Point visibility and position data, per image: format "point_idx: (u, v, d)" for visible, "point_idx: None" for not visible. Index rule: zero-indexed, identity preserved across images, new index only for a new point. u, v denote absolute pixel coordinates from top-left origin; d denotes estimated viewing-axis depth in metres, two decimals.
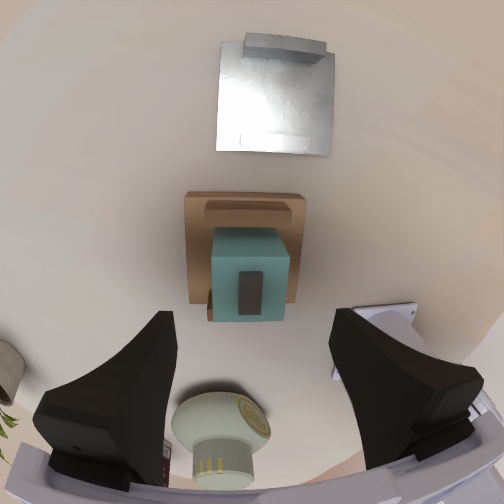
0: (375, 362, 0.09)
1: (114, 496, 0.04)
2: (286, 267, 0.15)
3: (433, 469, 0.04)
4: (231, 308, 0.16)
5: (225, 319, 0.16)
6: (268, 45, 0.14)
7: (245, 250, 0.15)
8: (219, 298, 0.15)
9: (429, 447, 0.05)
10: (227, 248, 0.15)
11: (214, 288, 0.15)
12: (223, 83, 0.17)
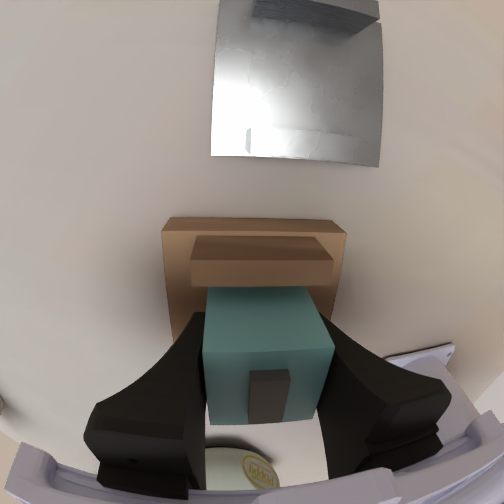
0: (335, 368, 0.08)
1: (114, 496, 0.04)
2: (327, 360, 0.08)
3: (433, 469, 0.04)
4: (237, 412, 0.09)
5: (228, 422, 0.09)
6: None
7: (260, 333, 0.09)
8: (218, 402, 0.09)
9: (385, 464, 0.05)
10: (229, 329, 0.09)
11: (209, 391, 0.09)
12: (222, 53, 0.10)
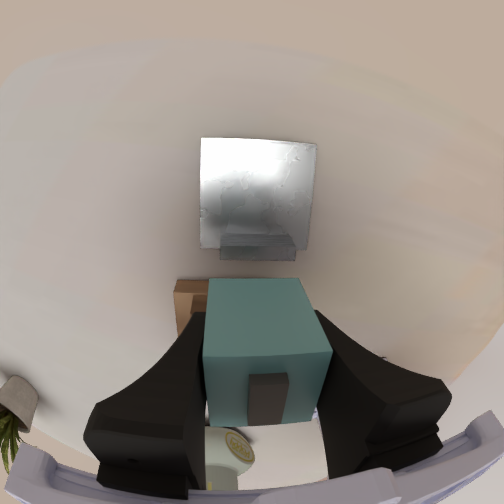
0: (335, 368, 0.08)
1: (114, 496, 0.04)
2: (325, 364, 0.09)
3: (433, 469, 0.04)
4: (236, 414, 0.09)
5: (228, 424, 0.09)
6: (245, 155, 0.16)
7: (259, 338, 0.09)
8: (218, 404, 0.09)
9: (385, 464, 0.05)
10: (229, 333, 0.09)
11: (209, 394, 0.09)
12: (204, 184, 0.19)
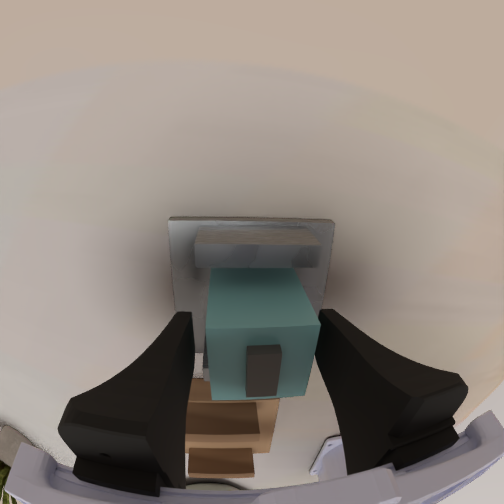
0: (355, 365, 0.08)
1: (114, 496, 0.04)
2: (314, 337, 0.10)
3: (433, 469, 0.04)
4: (236, 386, 0.11)
5: (228, 397, 0.11)
6: (230, 264, 0.11)
7: (255, 313, 0.10)
8: (219, 376, 0.10)
9: (407, 456, 0.05)
10: (228, 310, 0.10)
11: (211, 366, 0.10)
12: (177, 282, 0.14)
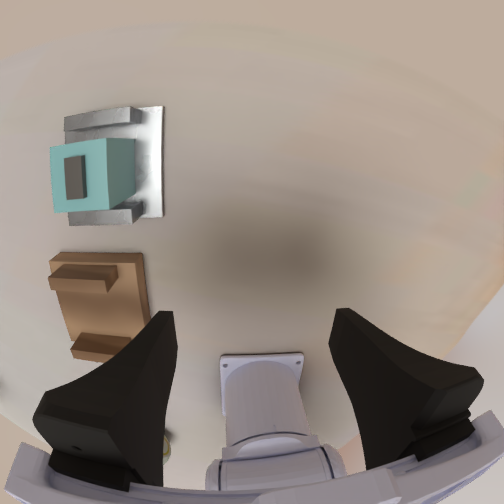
0: (375, 362, 0.09)
1: (114, 496, 0.04)
2: (104, 148, 0.13)
3: (433, 469, 0.04)
4: (65, 196, 0.14)
5: (62, 209, 0.14)
6: (80, 125, 0.14)
7: None
8: (56, 187, 0.13)
9: (429, 447, 0.05)
10: None
11: (52, 177, 0.13)
12: None
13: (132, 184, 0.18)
